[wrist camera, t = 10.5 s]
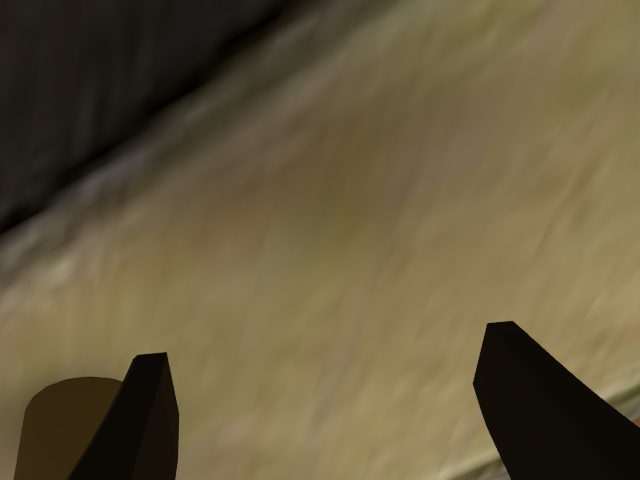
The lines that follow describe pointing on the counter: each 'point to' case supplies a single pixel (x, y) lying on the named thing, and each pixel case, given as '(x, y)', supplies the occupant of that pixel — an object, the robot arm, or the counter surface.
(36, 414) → the cork
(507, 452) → the robot arm
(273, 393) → the counter surface
